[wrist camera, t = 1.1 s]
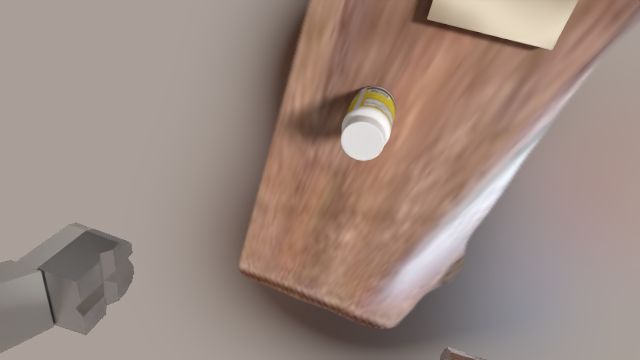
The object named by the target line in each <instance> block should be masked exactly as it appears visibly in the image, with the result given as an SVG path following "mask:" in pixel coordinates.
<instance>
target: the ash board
mask: <svg viewBox="0 0 640 360" xmlns="http://www.w3.org/2000/svg"><path fill="white" fill-rule="evenodd" d="M577 1H578V0H432V4H431V7H430V10H429V13H428V16H427V20H432V21H436V22H440V23H444V24H448V25H452V26H456V27H460V28H464V29H468V30H472V31H476V32H480V33H484V34H489V35H493V36H497V37H501V38H505V39H509V40H513V41H517V42H521V43H525V44H529V45H533V46H537V47H542V48H546V49H550V50H552V49H553V47H554V45H555V43H556V41H557V39H558V37H559V36H560V34H561V32H562V30H563V28H564V26H565V24H566V22H567V20H568V19H569V17H570V15H571V13H572V11H573V9H574V7H575V5H576V3H577Z"/></svg>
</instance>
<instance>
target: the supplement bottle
mask: <svg viewBox="0 0 640 360" xmlns="http://www.w3.org/2000/svg"><path fill="white" fill-rule="evenodd" d="M394 115H395V101H394V99H393V97H392V96H391V94H390V93H389V92H388V91H386V90H385V89H383V88H381V87H376V86H371V87H366V88H364V89H362V90H360V91H359V92H358V93H357V94H356V95H355V97H354V98H353V100H352V103H351V105H350V107H349V109H348V111H347V113H346V116H345V118H344V120H343V123H342V135H341V144H342V147H343V149H344V151H345V152H346V153H347V154H348V155H349V156H350V157H352V158H354V159H357V160H370V159H373V158H375V157H376V156H378V155H379V154H380V152H381V151H382V149H383V146H384V145H385V144H386V143H387V141H388V139H389V137H390V134H391V129H392V124H393V120H394Z"/></svg>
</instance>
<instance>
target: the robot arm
mask: <svg viewBox="0 0 640 360" xmlns="http://www.w3.org/2000/svg"><path fill="white" fill-rule="evenodd" d="M131 254H132V245H131V243H130V242H128V241H126V240H123V239H120V238H117V237H115V236H112V235H109V234H107V233H104V232H101V231H98V230H95V229H92V228H89V227H87V226H84V225H81V224H78V223H73V224H69V225H67V226H66V227H64V228H63V229H62V230H60V231H59V232H57V233H56V234H54V235H53V236H52V237H51V238H49V239H47V240H46V241H45V242H43V243H42V244H40V245H39V246H37V247H36V248H35V249H33V250H32V251H30V252H29V253H28V254H26V255H25V256H23V257H22V258H20V259H19V260H18V261H16V262H15V261H12V260H9V261H5V262H1V263H0V353H2V352H4V351H6V350H8V349H10V348H12V347H14V346H16V345H18V344H20V343H22V342H24V341H26V340H28V339H30V338H32V337H34V336H36V335H38V334H40V333H42V332H44V331H46V330H48V329H50V328H52V327H54V325H57V326H60V327H63V328H66V329H69V330H72V331H75V332H78V333H81V334H84V335H87V334H88V333H89V332H90V331H91V329H93V327H94V326H95V325H96V324H97V323H98V322H99V321H100V320H101V319H102V318H103V317H104V316H105V315H106V308H107V305H109V304H111V303H114V302H116V301H119V299H120V298H121V297H122V296H123V295H124V294H125V293H126V291H127V290H128V288H129V286H130V284H131V282H132V279H133V274H134V270H133V269H134V267H133V264H132V263H131V262H130V260H129V259H128V257H129V256H130V255H131ZM440 360H486V359H483V358H480V357H477V356H473V355H470V354H467V353H464V352H461V351H458V350H455V349H452V348H449V347H447V348H446V349H444V351H443V352H442V354H441V356H440Z"/></svg>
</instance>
